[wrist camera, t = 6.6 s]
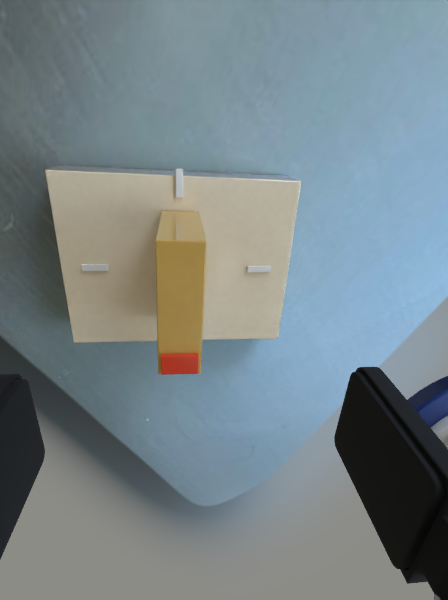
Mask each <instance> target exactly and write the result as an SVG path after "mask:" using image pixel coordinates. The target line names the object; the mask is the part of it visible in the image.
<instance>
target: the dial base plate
mask: <svg viewBox="0 0 448 600" xmlns="http://www.w3.org/2000/svg"><path fill="white" fill-rule="evenodd" d="M45 174H46V179H47V185H48V191H49V197H50V203H51V209H52V215H53V221H54V227H55V233H56V239H57V245H58V251H59V257H60V263H61V269H62V275H63V281H64V287H65V293H66V299H67V305H68V311H69V317H70V323H71V329H72V335H73V341H74V342H75V343H76V342H125V341H157V298H156V255H155V239H156V234H157V230H158V225H159V220H160V215H161V211H162V210H169V211H193V212H199V214H200V218H201V222H202V226H203V230H204V234H205V238H206V242H207V248H206V270H205V292H204V314H203V336H202V340H224V339H273V338H278V335H279V329H280V322H281V315H282V308H283V302H284V295H285V288H286V281H287V275H288V268H289V261H290V254H291V248H292V241H293V234H294V227H295V221H296V214H297V207H298V200H299V194H300V187H301V181H299V180H297V179H294V178H292V177H289V176H284V175H262V174H240V173H218V172H196V171H183V169H180V168H176V171H174V170H152V169H130V168H108V167H86V166H64V165H61V166H57V167H54V168H51V169H48V170H45Z"/></svg>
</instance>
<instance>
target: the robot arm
mask: <svg viewBox="0 0 448 600" xmlns="http://www.w3.org/2000/svg"><path fill="white" fill-rule="evenodd" d="M335 446H336V448H337V451H338V453H339V455H340V457H341V459H342V461H343V463H344V465H345V467H346V469H347V471H348V473H349V476H350V477H351V480H352V482H353V484H354V486H355V488H356V490H357V492H358V494H359V496H360V498H361V500H362V502H363V504H364V507H365V509H366V511H367V513H368V515H369V517H370V519H371V521H372V523H373V525H374V527H375V529H376V531H377V533H378V536H379V537H380V540H381V542H382V544H383V546H384V548H385V550H386V552H387V554H388V556H389V558H390V560H391V562H392V564H393V565H394V566H395V567H396V568H397V569H400V570H401V572H402V574H403V576H404V577H405V579H406V582H407V583H418V582H428V583H429V585H430V587H431V588H432V590H433V592H434V600H448V415H447V416H446V417H444V418H443V419H441V420H440V421H438V422H437V423H436V424H434V425H433V426H432V427H431V428H430V427H429V426H428V425H427V424H426V422H425V421H424V420H423V419H422V418H421V416H420V415H419V414H418V413H417V412H416V410H415V409H414V408H413V407H412V406H411V405H410V403H409V402H408V401H407V400H406V399H405V397H404V396H403V395H402V394H401V393H400V391H399V390H398V389H397V388H396V387H395V385H394V384H393V383H392V382H391V381H390V380H389V378H388V377H387V376H386V375H385V374H384V372H383V371H382V370H381V369H380V368H378V367H360V368H358V369H357V370H356V372H353V373H352V374H351V376H350V380H349V383H348V387H347V391H346V395H345V399H344V402H343V406H342V410H341V414H340V418H339V422H338V425H337V429H336V433H335ZM44 453H45V449H44V444H43V440H42V437H41V432H40V428H39V424H38V420H37V416H36V411H35V407H34V403H33V399H32V395H31V391H30V387H29V383H28V381H27V380H24V379H22V378H21V376H20V375H18V374H3V375H0V559H1V557H2V554H3V552H4V549H5V547H6V545H7V543H8V541H9V538H10V536H11V533H12V532H13V529H14V527H15V525H16V523H17V520H18V518H19V516H20V513H21V511H22V509H23V507H24V504H25V502H26V500H27V497H28V495H29V493H30V491H31V488H32V486H33V484H34V481H35V479H36V477H37V475H38V472H39V470H40V468H41V465H42V463H43V460H44Z"/></svg>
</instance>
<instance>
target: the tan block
mask: <svg viewBox="0 0 448 600" xmlns="http://www.w3.org/2000/svg"><path fill="white" fill-rule="evenodd" d="M206 248H207V242H206V238H205V234H204V230H203V226H202V222H201V218H200V214H199V212H193V211H169V210H162V211H161V215H160V220H159V225H158V230H157V234H156V239H155V255H156V298H157V341H158V373H159V374H198V373H201V358H202V336H203V314H204V292H205V270H206Z"/></svg>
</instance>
